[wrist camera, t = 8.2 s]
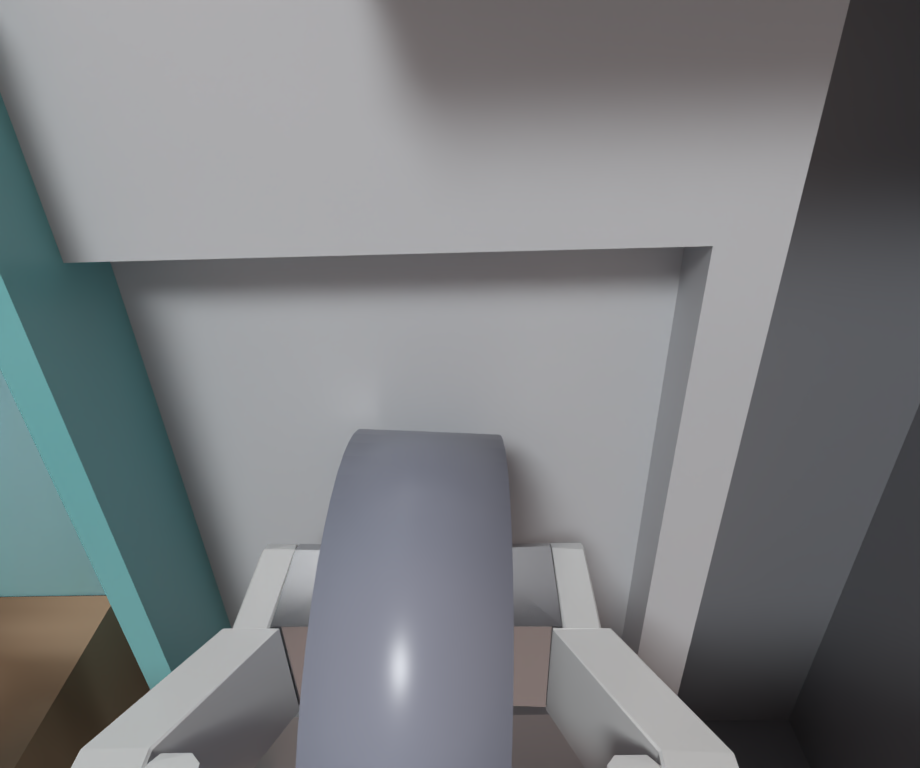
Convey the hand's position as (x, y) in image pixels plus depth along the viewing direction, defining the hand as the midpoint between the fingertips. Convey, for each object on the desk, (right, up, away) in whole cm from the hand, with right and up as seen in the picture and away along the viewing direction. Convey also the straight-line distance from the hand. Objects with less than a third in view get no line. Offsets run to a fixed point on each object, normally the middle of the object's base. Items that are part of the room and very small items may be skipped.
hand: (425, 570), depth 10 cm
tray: (0, +2, +2) cm, 3 cm away
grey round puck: (+1, -1, -1) cm, 2 cm away
